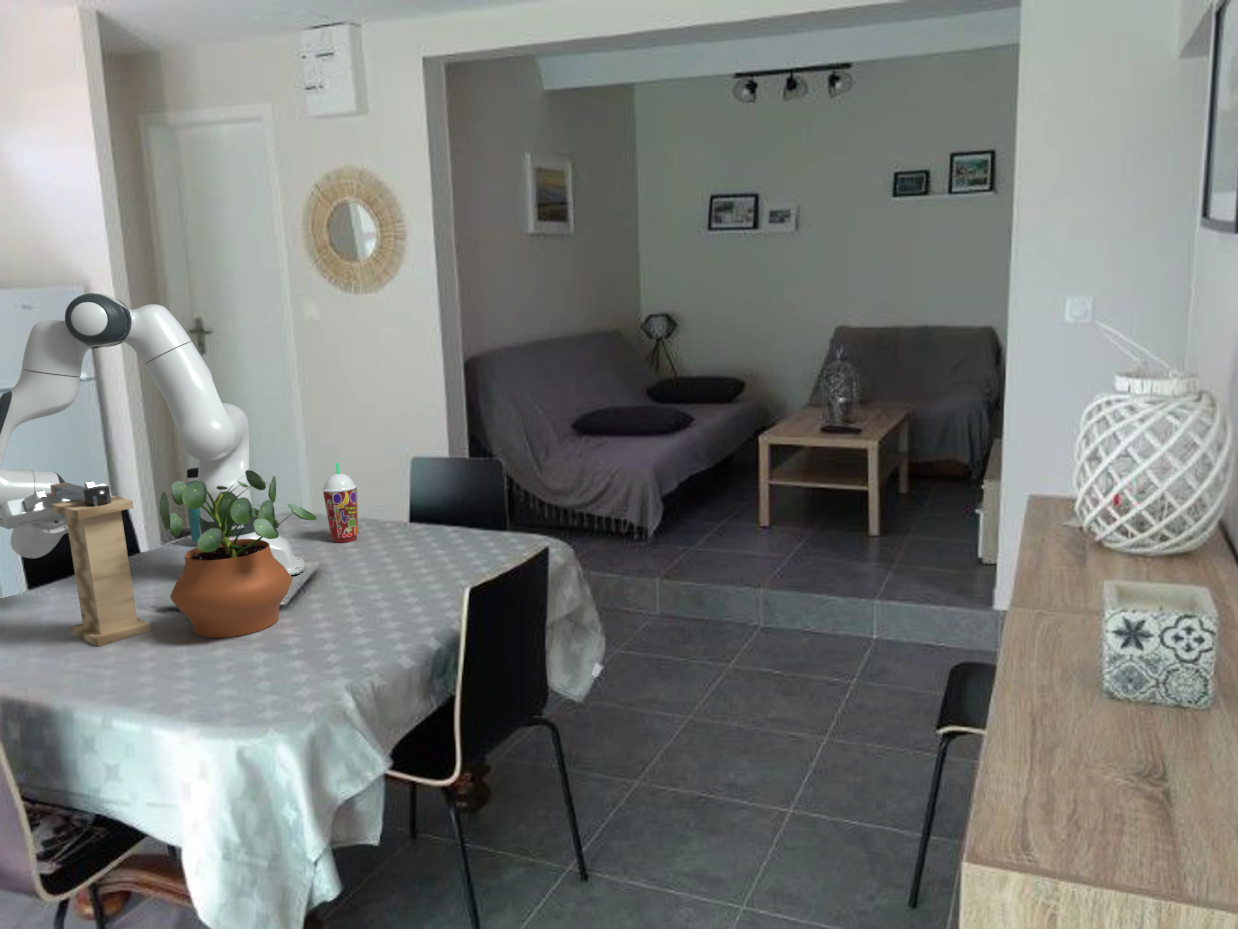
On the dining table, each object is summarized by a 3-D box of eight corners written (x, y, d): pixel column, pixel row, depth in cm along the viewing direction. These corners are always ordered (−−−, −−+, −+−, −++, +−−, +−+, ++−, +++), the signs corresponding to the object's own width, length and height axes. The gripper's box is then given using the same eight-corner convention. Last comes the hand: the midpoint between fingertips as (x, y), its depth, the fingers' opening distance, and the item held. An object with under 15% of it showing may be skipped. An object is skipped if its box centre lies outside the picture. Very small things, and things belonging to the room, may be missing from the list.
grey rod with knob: (48, 496, 203) (45, 481, 203) (71, 491, 206) (69, 477, 206) (91, 507, 190) (88, 491, 190) (115, 502, 193) (113, 487, 193)
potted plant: (186, 612, 210) (166, 468, 204) (328, 595, 216) (313, 455, 210) (165, 651, 188) (142, 491, 182) (324, 631, 194) (306, 475, 188)
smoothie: (357, 543, 258) (349, 465, 254) (324, 545, 258) (315, 466, 254) (365, 535, 266) (357, 459, 262) (333, 536, 266) (325, 460, 262)
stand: (72, 634, 200) (51, 504, 195) (124, 619, 208) (105, 493, 203) (98, 646, 192) (77, 511, 187) (151, 630, 200) (132, 500, 195)
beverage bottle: (209, 547, 261) (199, 470, 258) (186, 547, 263) (175, 471, 259) (224, 540, 268) (214, 465, 264) (201, 540, 269) (191, 465, 265)
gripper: (-13, 513, 204) (3, 485, 195) (93, 493, 219) (113, 465, 210) (-3, 542, 203) (14, 515, 194) (103, 519, 218) (123, 493, 209)
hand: (66, 489), depth 202 cm, fingers open, 8 cm apart
